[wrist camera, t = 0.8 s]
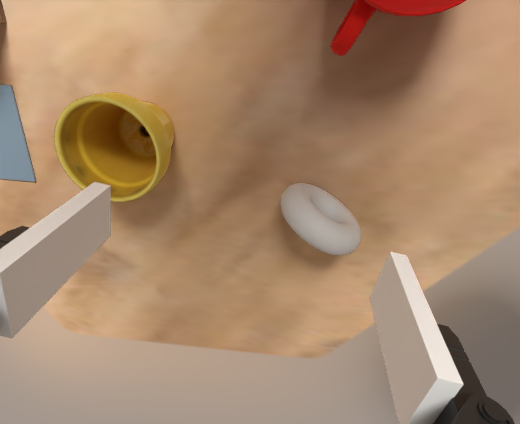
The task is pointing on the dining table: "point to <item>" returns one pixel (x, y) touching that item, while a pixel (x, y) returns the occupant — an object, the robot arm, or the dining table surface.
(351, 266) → the dining table surface
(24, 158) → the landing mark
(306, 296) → the dining table surface
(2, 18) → the bridge
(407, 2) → the ceramic cup
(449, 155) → the dining table surface
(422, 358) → the robot arm
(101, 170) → the plant pot
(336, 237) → the donut
